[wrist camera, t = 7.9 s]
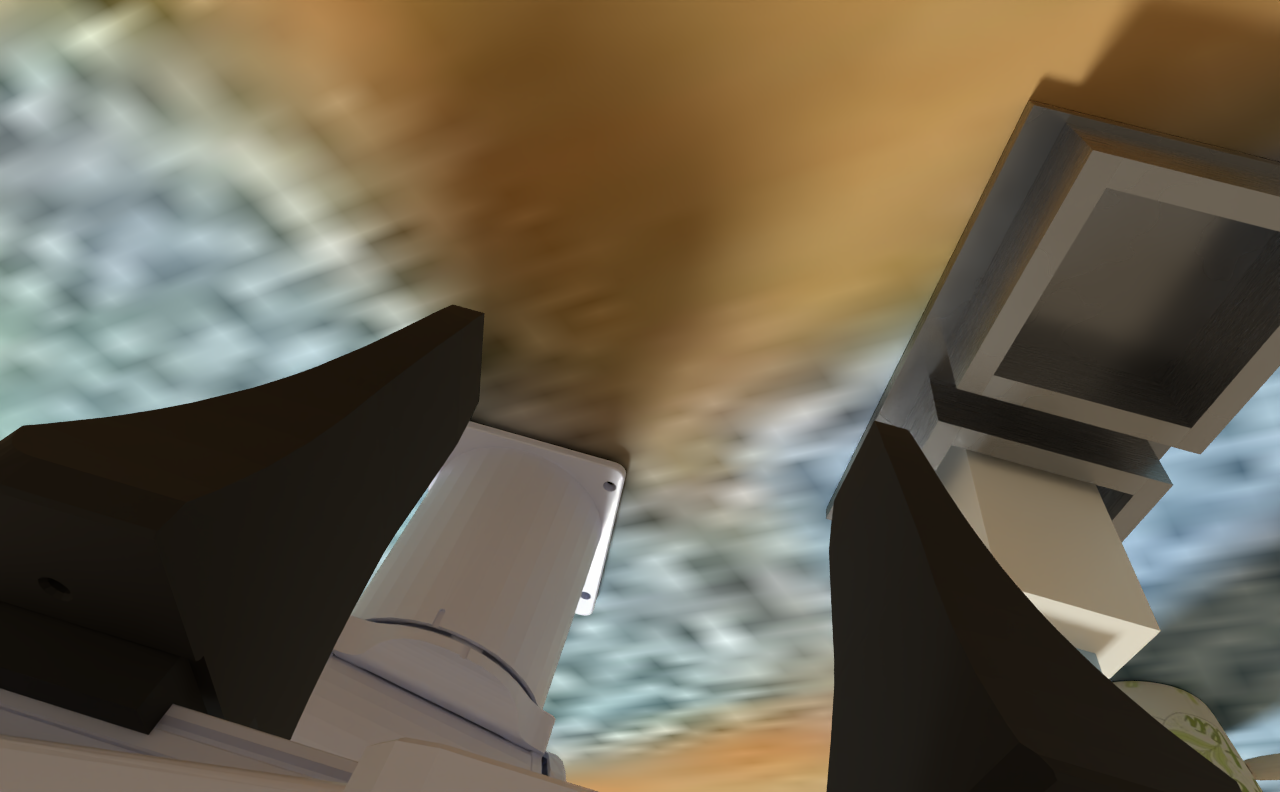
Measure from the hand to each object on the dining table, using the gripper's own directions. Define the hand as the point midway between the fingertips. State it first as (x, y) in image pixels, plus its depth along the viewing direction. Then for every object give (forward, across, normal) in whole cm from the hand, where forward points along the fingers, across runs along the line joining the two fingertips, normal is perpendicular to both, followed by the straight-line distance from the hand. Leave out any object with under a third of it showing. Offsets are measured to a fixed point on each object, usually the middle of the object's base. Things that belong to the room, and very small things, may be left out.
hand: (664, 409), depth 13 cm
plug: (+10, -11, +7) cm, 16 cm away
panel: (+10, -11, +3) cm, 15 cm away
